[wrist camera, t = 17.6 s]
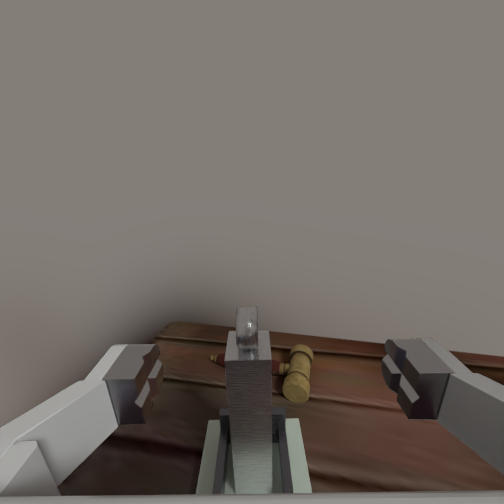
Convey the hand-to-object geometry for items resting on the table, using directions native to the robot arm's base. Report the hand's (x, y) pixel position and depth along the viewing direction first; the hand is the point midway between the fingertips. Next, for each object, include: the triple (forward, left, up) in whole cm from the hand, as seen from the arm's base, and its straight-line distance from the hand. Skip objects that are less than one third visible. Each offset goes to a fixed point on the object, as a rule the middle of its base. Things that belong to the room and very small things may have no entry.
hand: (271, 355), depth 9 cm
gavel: (-20, -25, -33) cm, 46 cm away
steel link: (-7, -11, -30) cm, 33 cm away
